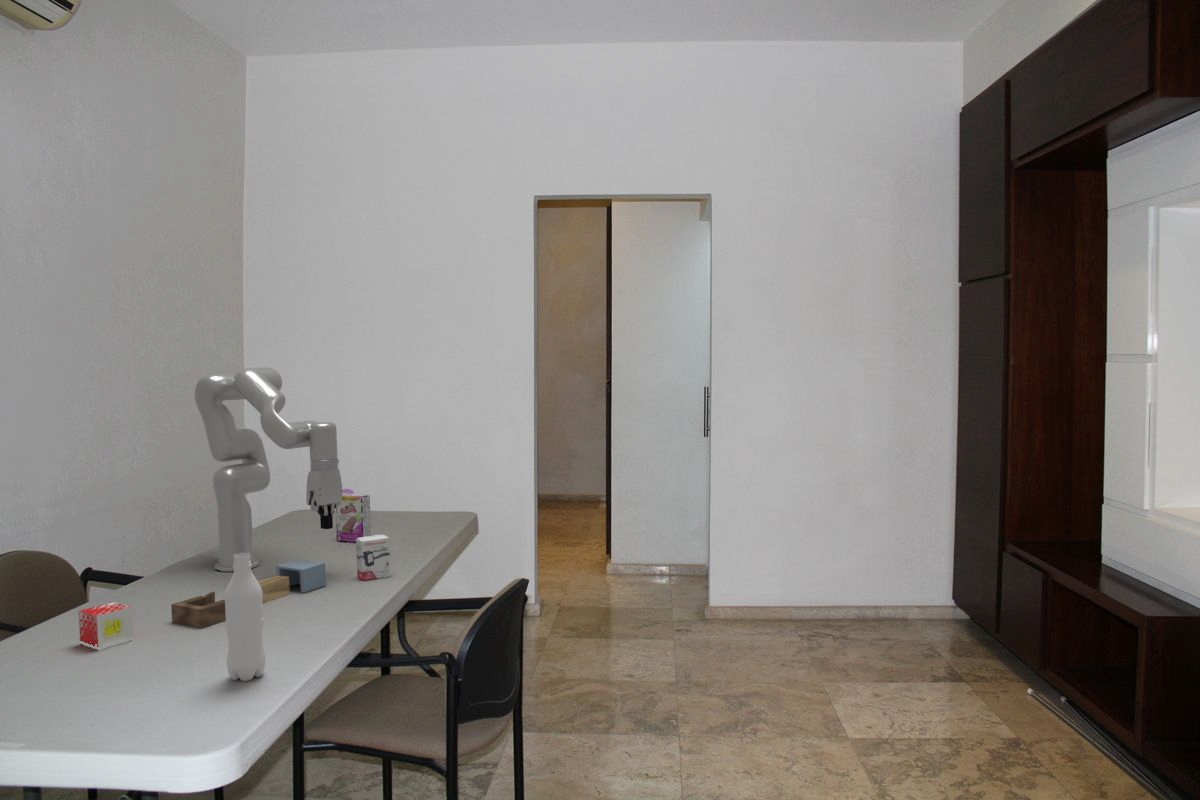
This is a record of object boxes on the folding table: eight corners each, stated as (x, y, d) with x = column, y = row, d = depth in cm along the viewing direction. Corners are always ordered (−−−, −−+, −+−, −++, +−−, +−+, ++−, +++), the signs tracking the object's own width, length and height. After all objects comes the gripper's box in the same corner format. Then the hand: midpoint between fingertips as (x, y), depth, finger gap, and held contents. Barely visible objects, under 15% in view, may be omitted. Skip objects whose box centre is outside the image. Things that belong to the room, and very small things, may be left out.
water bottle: (234, 670, 175) (229, 551, 174) (270, 669, 176) (265, 549, 174) (222, 684, 168) (216, 559, 166) (259, 682, 168) (254, 558, 167)
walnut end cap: (170, 622, 208) (169, 604, 208) (213, 608, 219) (212, 591, 219) (203, 628, 203) (203, 610, 203) (245, 614, 214) (244, 596, 213)
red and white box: (98, 651, 189) (96, 616, 188) (80, 645, 193) (78, 610, 193) (134, 640, 196) (132, 606, 195) (115, 635, 200) (114, 601, 199)
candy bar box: (335, 542, 296) (334, 495, 295) (344, 539, 300) (343, 493, 299) (363, 543, 292) (361, 496, 291) (371, 540, 297) (370, 494, 296)
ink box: (362, 581, 243) (360, 540, 243) (356, 577, 247) (355, 537, 247) (391, 576, 248) (389, 536, 247) (385, 573, 252) (384, 533, 251)
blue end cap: (276, 588, 236) (276, 565, 236) (299, 581, 244) (298, 559, 243) (304, 592, 232) (303, 569, 231) (326, 585, 239) (325, 562, 238)
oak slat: (230, 609, 219) (229, 590, 219) (278, 593, 233) (278, 575, 233) (241, 611, 217) (241, 592, 217) (289, 595, 231) (289, 576, 231)
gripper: (333, 461, 253) (336, 522, 254) (294, 468, 240) (297, 532, 241) (352, 462, 249) (355, 524, 250) (314, 469, 236) (316, 534, 237)
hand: (326, 528), depth 246 cm, fingers closed
